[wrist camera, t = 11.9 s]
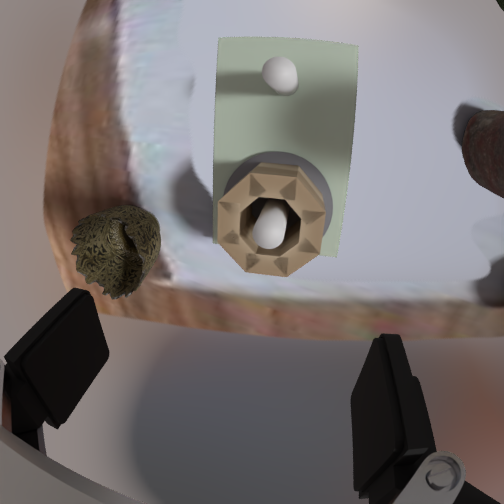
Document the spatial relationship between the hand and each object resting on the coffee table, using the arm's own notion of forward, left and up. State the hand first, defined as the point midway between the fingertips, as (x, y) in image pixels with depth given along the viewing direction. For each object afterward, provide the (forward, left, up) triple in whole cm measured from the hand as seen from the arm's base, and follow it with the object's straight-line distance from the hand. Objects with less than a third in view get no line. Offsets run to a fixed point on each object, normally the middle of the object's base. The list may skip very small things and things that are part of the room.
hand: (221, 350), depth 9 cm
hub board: (-5, 0, -19) cm, 20 cm away
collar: (0, 0, -17) cm, 17 cm away
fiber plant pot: (+4, -13, -19) cm, 23 cm away
